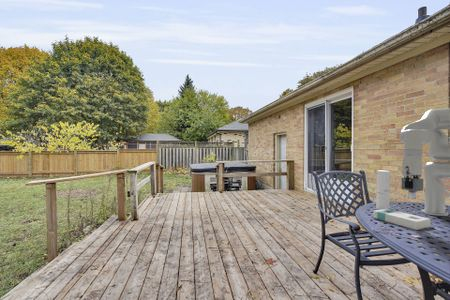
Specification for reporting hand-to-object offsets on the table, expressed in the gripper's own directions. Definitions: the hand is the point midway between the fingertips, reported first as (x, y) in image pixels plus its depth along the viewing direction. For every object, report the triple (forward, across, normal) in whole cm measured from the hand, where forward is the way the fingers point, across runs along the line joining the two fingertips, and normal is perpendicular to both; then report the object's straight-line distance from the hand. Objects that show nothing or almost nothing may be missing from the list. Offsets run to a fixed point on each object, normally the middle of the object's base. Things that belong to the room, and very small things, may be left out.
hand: (412, 187), depth 128 cm
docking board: (+19, 0, -5) cm, 20 cm away
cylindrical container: (+20, -18, -26) cm, 37 cm away
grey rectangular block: (+6, 0, 0) cm, 6 cm away
